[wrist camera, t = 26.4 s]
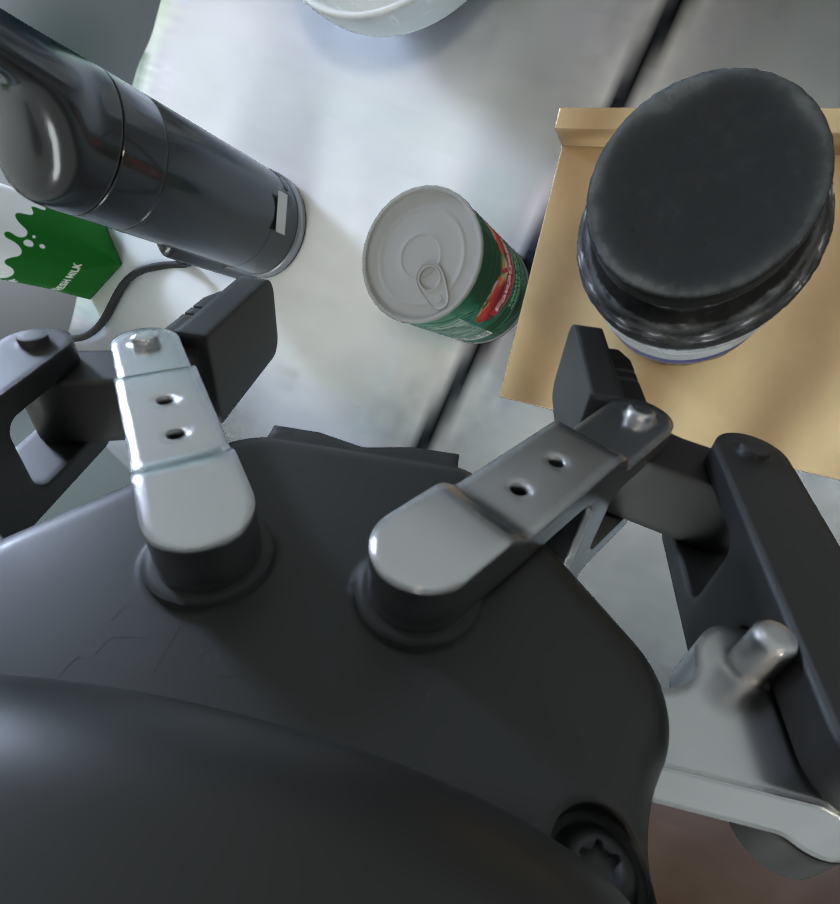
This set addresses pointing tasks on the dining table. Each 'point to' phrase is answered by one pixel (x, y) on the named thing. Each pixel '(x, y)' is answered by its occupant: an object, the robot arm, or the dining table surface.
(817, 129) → the pill bottle
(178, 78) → the dining table surface
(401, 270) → the canned tomato
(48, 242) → the milk carton
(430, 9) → the serving bowl
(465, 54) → the dining table surface
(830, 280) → the shelf riser
